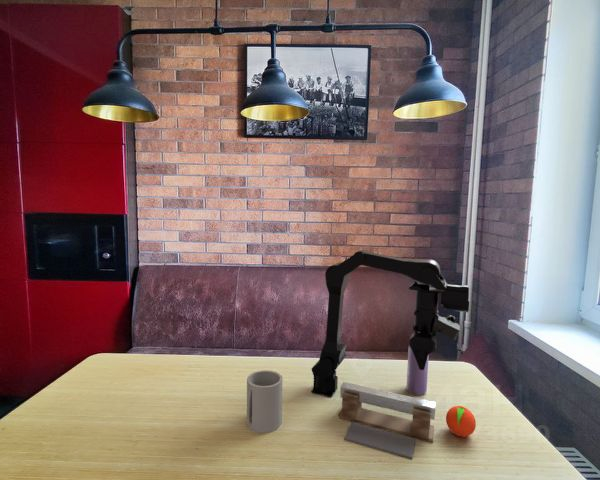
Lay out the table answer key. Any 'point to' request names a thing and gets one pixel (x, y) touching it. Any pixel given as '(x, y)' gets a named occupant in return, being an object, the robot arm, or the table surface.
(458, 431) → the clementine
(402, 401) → the rail
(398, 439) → the mat
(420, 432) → the rack
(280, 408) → the cup
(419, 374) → the beverage can
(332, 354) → the robot arm
